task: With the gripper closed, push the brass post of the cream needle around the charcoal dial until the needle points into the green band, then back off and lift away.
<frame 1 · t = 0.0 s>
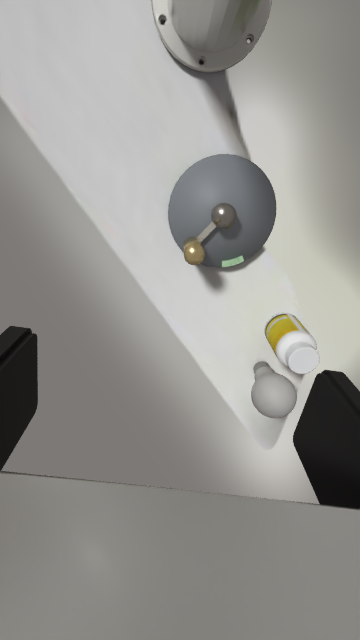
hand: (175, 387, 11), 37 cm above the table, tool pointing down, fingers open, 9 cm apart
dial plate: (221, 213, 44), on the table
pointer: (210, 233, 40), point 5 cm above the table, hinge at -35.0°
lightbulb: (259, 364, 54), on the table
supplement bottle: (281, 327, 51), on the table
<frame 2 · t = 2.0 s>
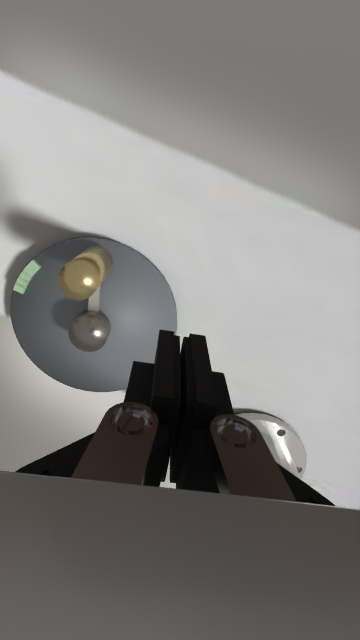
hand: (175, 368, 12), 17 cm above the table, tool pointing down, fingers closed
dial plate: (97, 317, 29), on the table
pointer: (86, 309, 24), point 5 cm above the table, hinge at -35.0°
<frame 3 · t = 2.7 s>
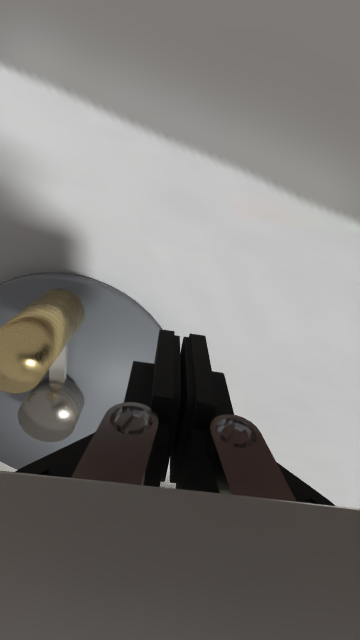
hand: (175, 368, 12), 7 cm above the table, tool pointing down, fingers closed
dial plate: (67, 382, 21), on the table
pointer: (39, 388, 15), point 5 cm above the table, hinge at -35.0°
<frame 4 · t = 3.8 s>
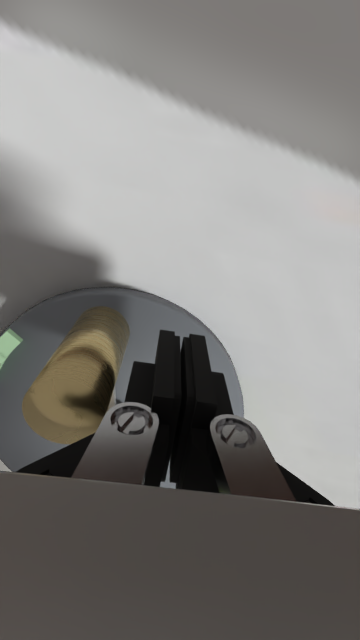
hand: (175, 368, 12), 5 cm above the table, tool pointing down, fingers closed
dial plate: (115, 406, 19), on the table
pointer: (93, 425, 13), point 5 cm above the table, hinge at -28.1°, touching gripper
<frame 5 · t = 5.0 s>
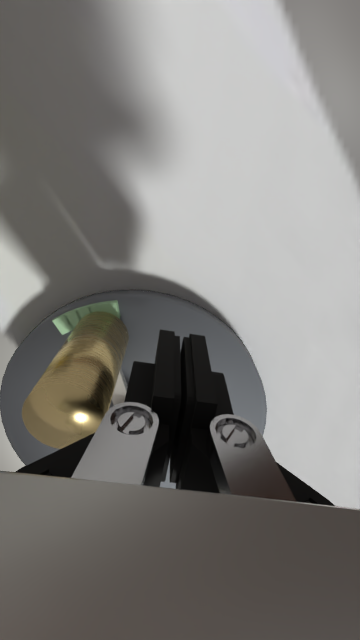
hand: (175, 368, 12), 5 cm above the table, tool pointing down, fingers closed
dial plate: (137, 408, 19), on the table
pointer: (109, 428, 13), point 5 cm above the table, hinge at 20.5°, touching gripper
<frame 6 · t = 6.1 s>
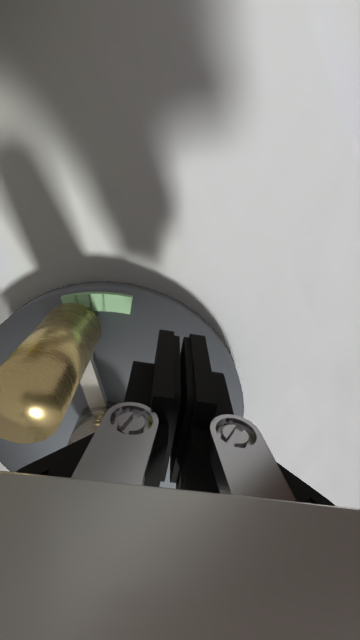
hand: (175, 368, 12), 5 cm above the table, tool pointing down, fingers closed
dial plate: (113, 403, 18), on the table
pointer: (76, 423, 13), point 5 cm above the table, hinge at 35.8°
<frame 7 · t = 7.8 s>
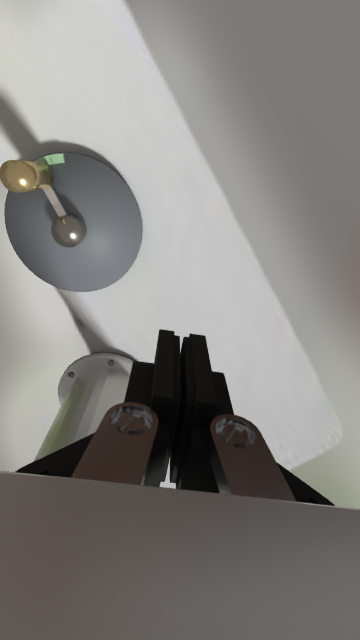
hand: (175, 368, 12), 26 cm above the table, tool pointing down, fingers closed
dial plate: (77, 226, 35), on the table
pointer: (47, 207, 30), point 5 cm above the table, hinge at 35.9°
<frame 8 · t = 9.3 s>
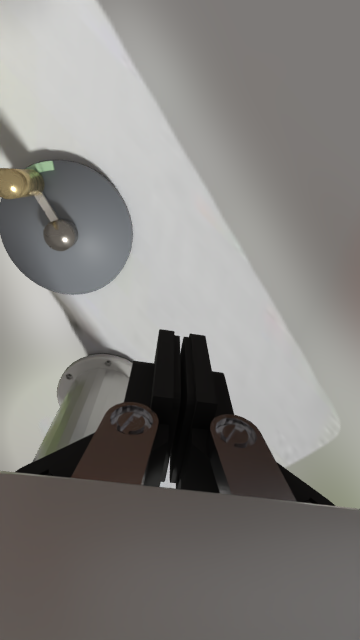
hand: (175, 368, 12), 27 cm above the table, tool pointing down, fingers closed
dial plate: (69, 230, 36), on the table
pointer: (39, 213, 31), point 5 cm above the table, hinge at 35.9°
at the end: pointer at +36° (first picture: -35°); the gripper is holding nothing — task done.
